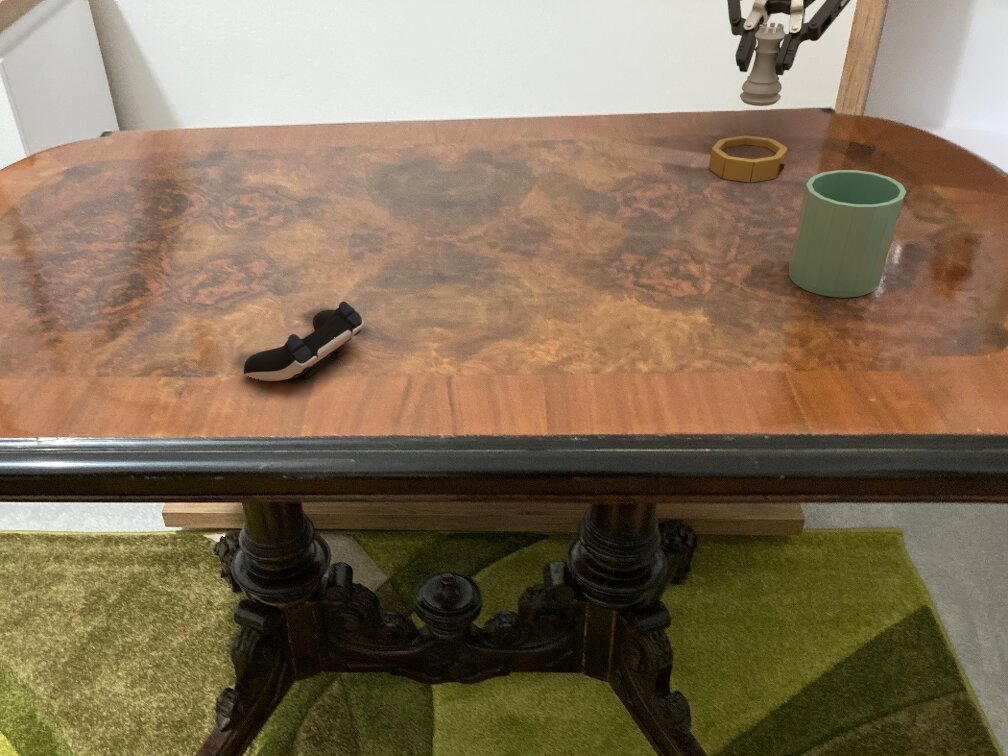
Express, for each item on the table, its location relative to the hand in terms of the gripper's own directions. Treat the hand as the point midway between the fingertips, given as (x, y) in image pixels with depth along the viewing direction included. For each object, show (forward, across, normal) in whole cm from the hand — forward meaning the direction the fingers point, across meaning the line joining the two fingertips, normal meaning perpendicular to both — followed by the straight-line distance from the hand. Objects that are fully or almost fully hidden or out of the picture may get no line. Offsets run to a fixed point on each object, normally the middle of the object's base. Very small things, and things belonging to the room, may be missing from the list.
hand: (760, 69), depth 101 cm
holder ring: (+7, 0, -10) cm, 12 cm away
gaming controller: (+48, +22, +31) cm, 61 cm away
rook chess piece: (+2, 0, -4) cm, 5 cm away
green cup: (+23, -15, +6) cm, 28 cm away
